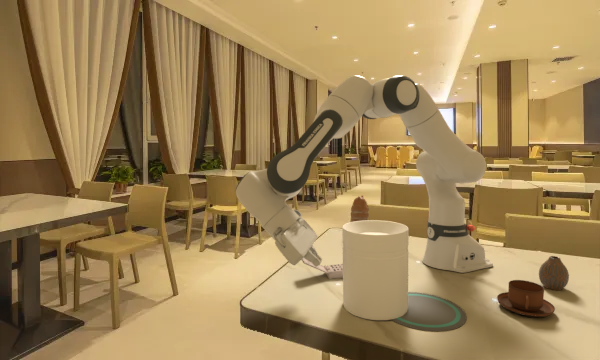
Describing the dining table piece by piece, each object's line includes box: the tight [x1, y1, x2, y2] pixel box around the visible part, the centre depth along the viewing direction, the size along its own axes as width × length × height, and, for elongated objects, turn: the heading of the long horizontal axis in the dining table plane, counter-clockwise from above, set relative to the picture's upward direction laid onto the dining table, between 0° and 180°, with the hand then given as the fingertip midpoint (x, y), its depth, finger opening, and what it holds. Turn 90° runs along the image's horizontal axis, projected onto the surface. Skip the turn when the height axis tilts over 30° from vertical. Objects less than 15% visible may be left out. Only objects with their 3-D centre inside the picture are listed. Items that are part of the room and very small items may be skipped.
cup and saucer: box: [496, 279, 556, 318], centre depth 87 cm, size 12×12×6 cm
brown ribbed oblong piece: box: [350, 194, 370, 222], centre depth 156 cm, size 9×8×18 cm
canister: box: [341, 219, 410, 321], centre depth 89 cm, size 16×16×20 cm
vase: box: [538, 255, 570, 291], centre depth 100 cm, size 7×7×9 cm
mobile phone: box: [301, 258, 343, 279], centre depth 111 cm, size 6×6×25 cm
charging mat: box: [390, 291, 467, 332], centre depth 91 cm, size 20×28×2 cm
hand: (319, 263), depth 92 cm, fingers closed
